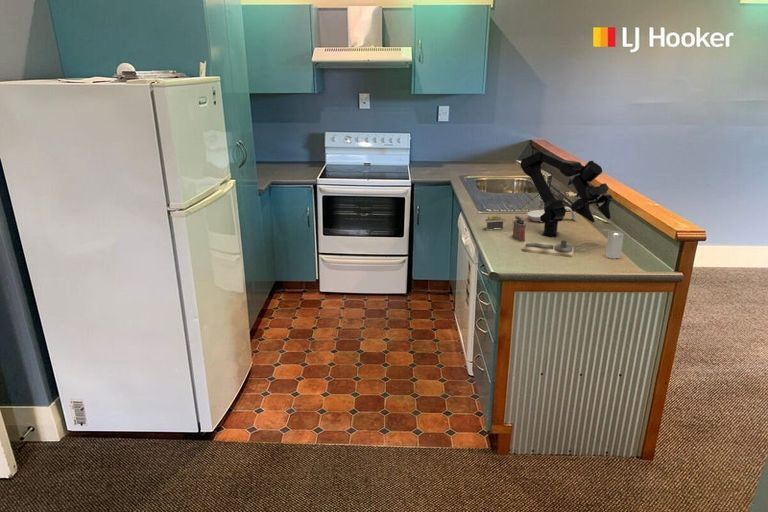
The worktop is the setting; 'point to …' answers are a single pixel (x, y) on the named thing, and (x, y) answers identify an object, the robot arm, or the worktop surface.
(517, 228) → the lighter
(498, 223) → the platform
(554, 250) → the board
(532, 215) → the spoon rest
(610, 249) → the silver cylindrical piece
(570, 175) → the robot arm
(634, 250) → the worktop surface
